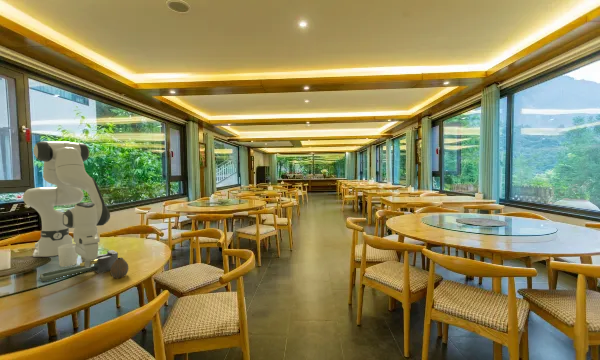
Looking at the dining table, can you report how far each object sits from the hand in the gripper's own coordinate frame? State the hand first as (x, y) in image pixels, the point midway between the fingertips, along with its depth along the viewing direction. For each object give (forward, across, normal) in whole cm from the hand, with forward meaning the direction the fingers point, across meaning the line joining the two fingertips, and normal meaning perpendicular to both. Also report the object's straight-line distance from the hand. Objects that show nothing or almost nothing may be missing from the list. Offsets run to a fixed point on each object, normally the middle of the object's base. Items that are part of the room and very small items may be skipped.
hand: (85, 265), depth 124 cm
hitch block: (+4, 0, +8) cm, 9 cm away
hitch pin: (0, 0, +5) cm, 5 cm away
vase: (+4, +15, +9) cm, 18 cm away
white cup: (+4, -22, -2) cm, 23 cm away
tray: (+4, -6, -5) cm, 9 cm away
